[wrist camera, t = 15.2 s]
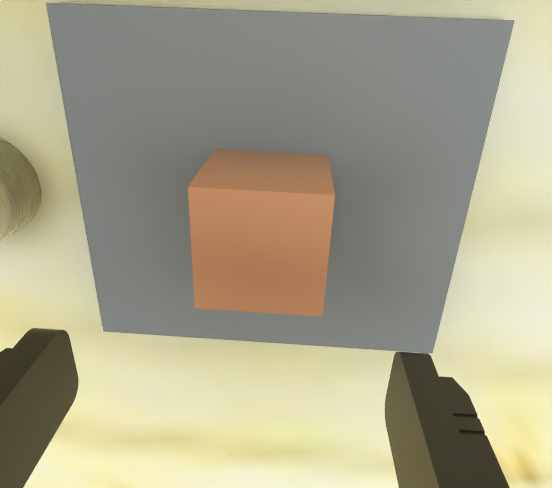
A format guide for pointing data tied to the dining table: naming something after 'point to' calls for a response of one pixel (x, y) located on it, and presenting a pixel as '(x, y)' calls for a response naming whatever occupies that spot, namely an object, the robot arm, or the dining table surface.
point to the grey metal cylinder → (16, 190)
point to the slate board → (283, 139)
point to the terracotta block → (261, 232)
